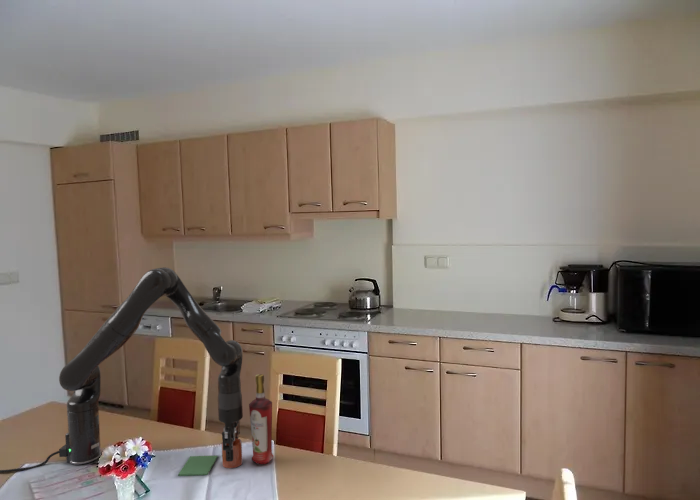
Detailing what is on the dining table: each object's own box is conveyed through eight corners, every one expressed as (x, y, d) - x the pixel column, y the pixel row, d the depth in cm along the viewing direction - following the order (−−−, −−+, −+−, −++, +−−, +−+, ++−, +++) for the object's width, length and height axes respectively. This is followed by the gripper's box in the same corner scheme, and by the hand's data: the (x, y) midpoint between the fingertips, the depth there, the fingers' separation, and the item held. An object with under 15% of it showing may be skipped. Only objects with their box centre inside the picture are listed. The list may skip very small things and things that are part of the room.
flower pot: (220, 468, 156) (219, 446, 155) (225, 459, 162) (224, 438, 162) (240, 468, 156) (239, 446, 155) (244, 458, 162) (243, 437, 162)
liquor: (246, 464, 158) (243, 377, 157) (258, 454, 165) (255, 371, 163) (267, 468, 155) (263, 379, 154) (278, 457, 162) (275, 373, 161)
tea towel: (178, 476, 152) (178, 474, 152) (190, 458, 164) (190, 456, 164) (207, 475, 152) (207, 473, 152) (217, 457, 164) (217, 455, 164)
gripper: (223, 397, 165) (225, 446, 166) (212, 413, 151) (214, 466, 151) (246, 396, 165) (248, 445, 166) (237, 412, 151) (239, 466, 152)
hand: (232, 455), depth 159 cm, fingers open, 6 cm apart
